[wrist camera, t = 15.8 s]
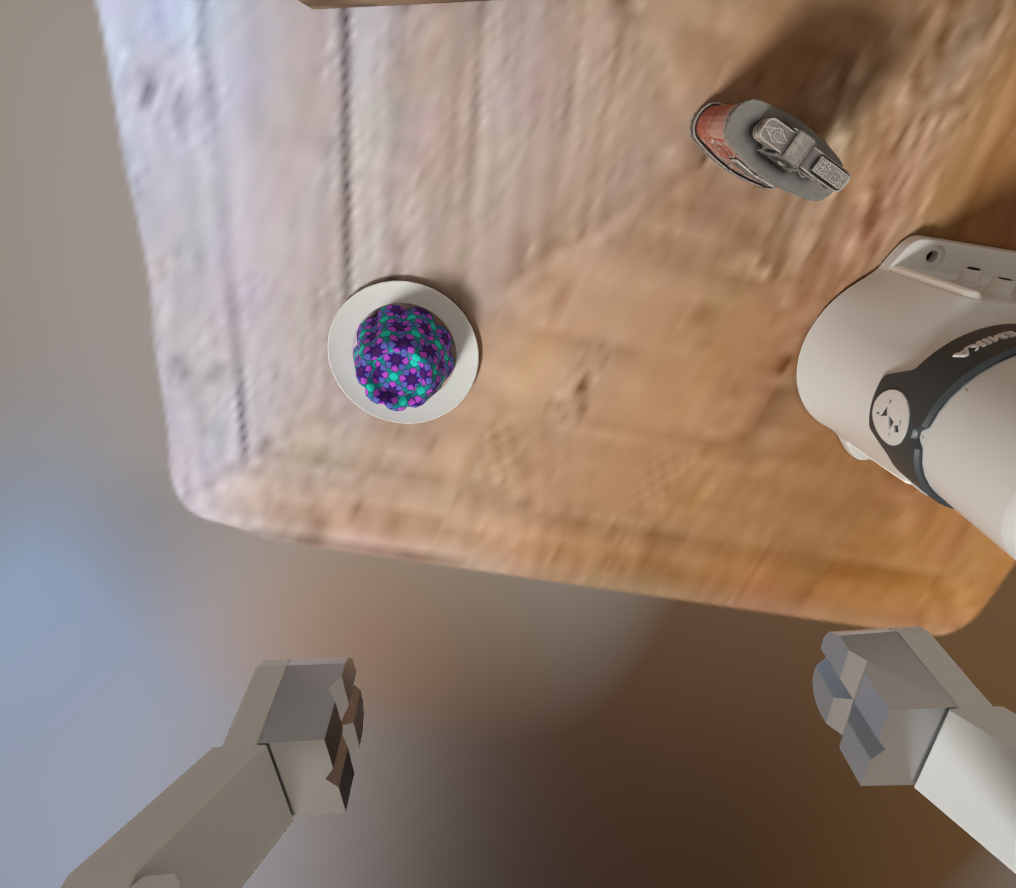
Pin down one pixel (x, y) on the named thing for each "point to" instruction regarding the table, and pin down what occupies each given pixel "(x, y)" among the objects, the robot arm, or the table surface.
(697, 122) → the lighter
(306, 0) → the walnut collar
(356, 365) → the pudding
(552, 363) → the table surface
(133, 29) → the table surface
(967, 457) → the robot arm
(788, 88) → the table surface
